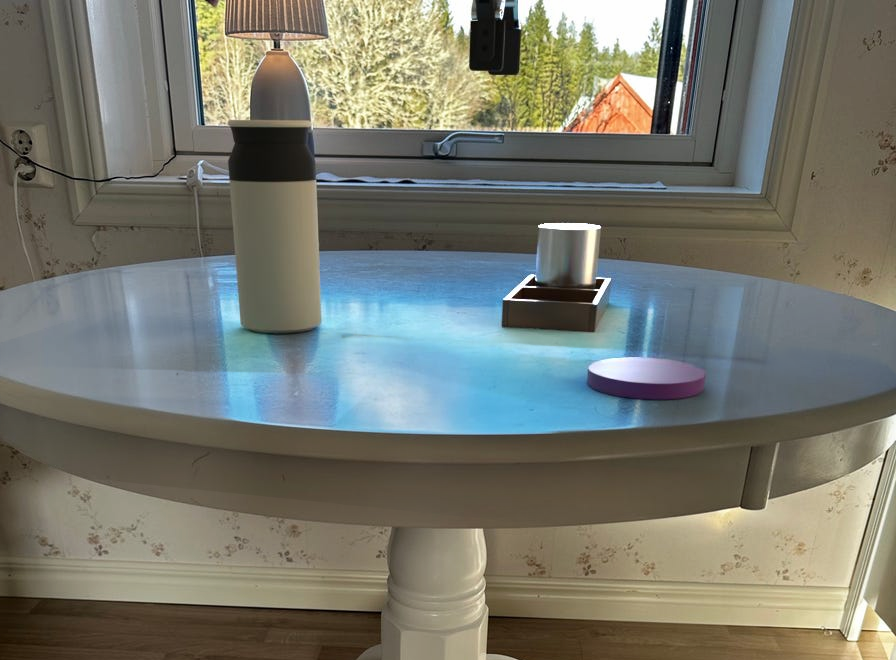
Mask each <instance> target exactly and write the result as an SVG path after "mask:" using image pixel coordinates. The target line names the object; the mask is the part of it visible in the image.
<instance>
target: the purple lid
mask: <svg viewBox="0 0 896 660" xmlns="http://www.w3.org/2000/svg"><path fill="white" fill-rule="evenodd" d="M706 376H707V374H706V371H705V370H704V369H702V367H699V366H696V365H694V364H691V363H687V362H683V361H680V360H679V361H678V360H673V359H667V358H659V357H642V356H634V357H633V356H624V357H611V358H604V359H600V360H596V361H594V362H591V363H590V364H589V365H588V367H587V376H586V384H587V385H588V387H590V388H591V389H593V390H595V391H598V392H601V393H602V394H607V395H610V396H616V397H620V398H621V397H622V398H627V399H628V398H629V399H635V400H636V399H638V400H651V401H654V400H657V401H661V400H662V401H663V400H677V399H678V400H679V399H686V398H690V397H694V396H698V395H699V394H702V393H703V392H704V389H705V382H706Z"/></svg>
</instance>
